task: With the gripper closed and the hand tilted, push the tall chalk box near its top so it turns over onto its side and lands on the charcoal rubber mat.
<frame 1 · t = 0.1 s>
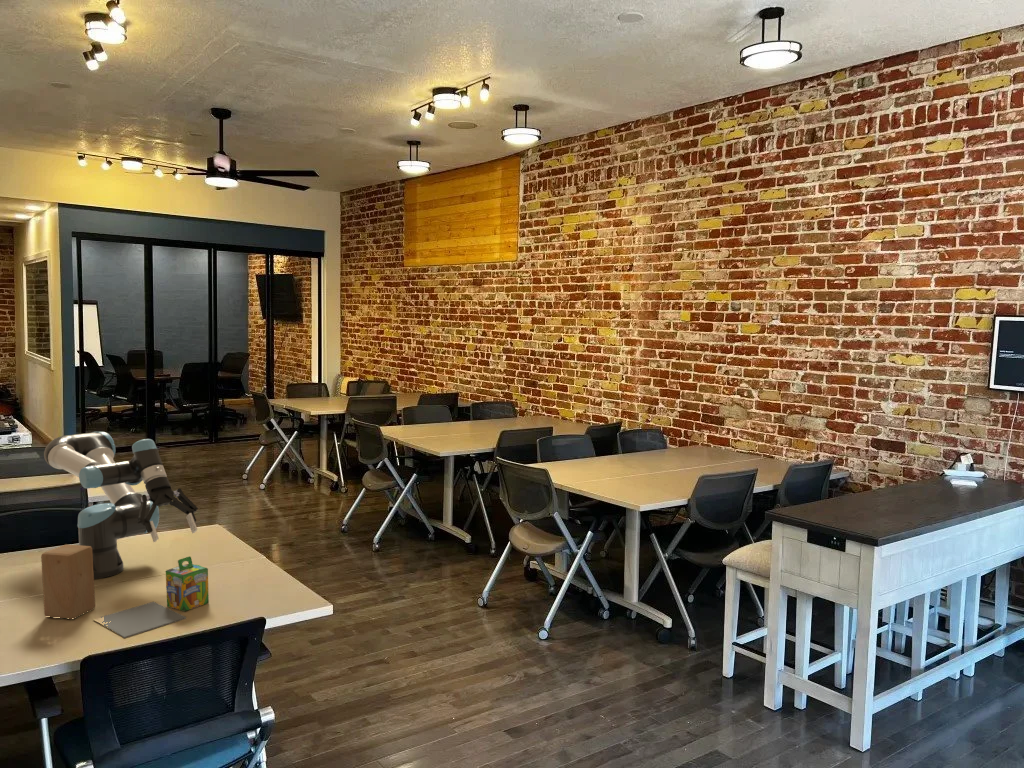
hand: (175, 535, 260), 15 cm above the table, tool tilted 35°, fingers open, 13 cm apart
mat: (139, 619, 227), on the table
chalk box: (188, 605, 239), on the table
wooden block: (70, 614, 232), on the table
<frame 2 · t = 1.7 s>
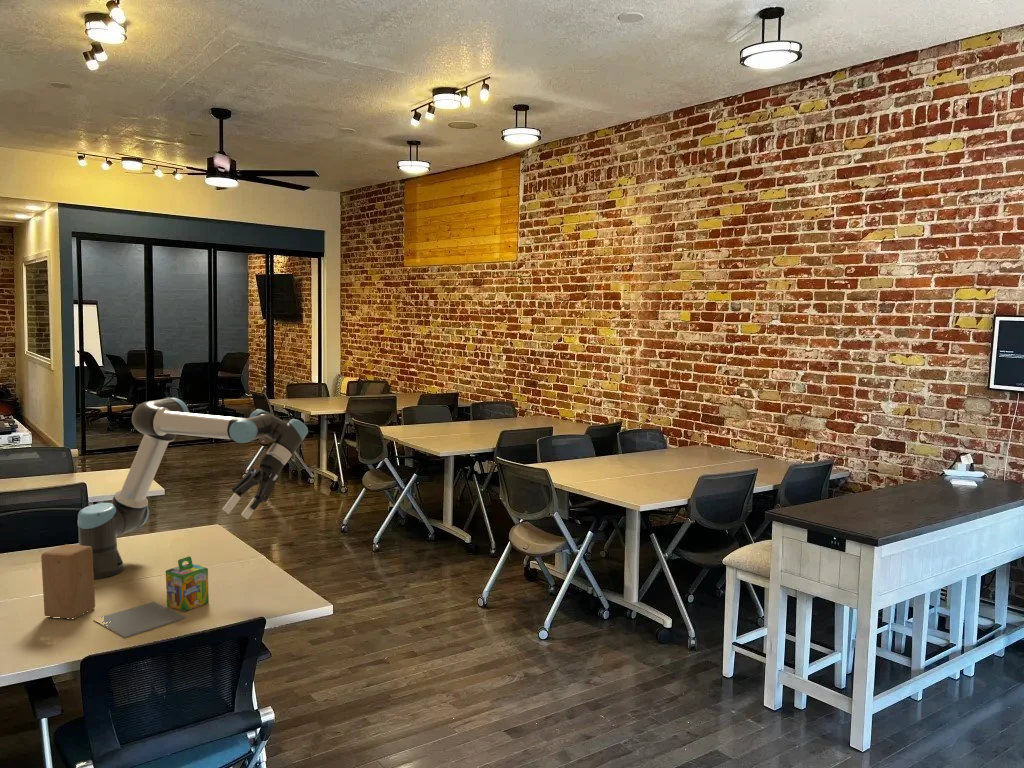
hand: (234, 514, 250), 25 cm above the table, tool tilted 45°, fingers open, 10 cm apart
nothing on the table moved.
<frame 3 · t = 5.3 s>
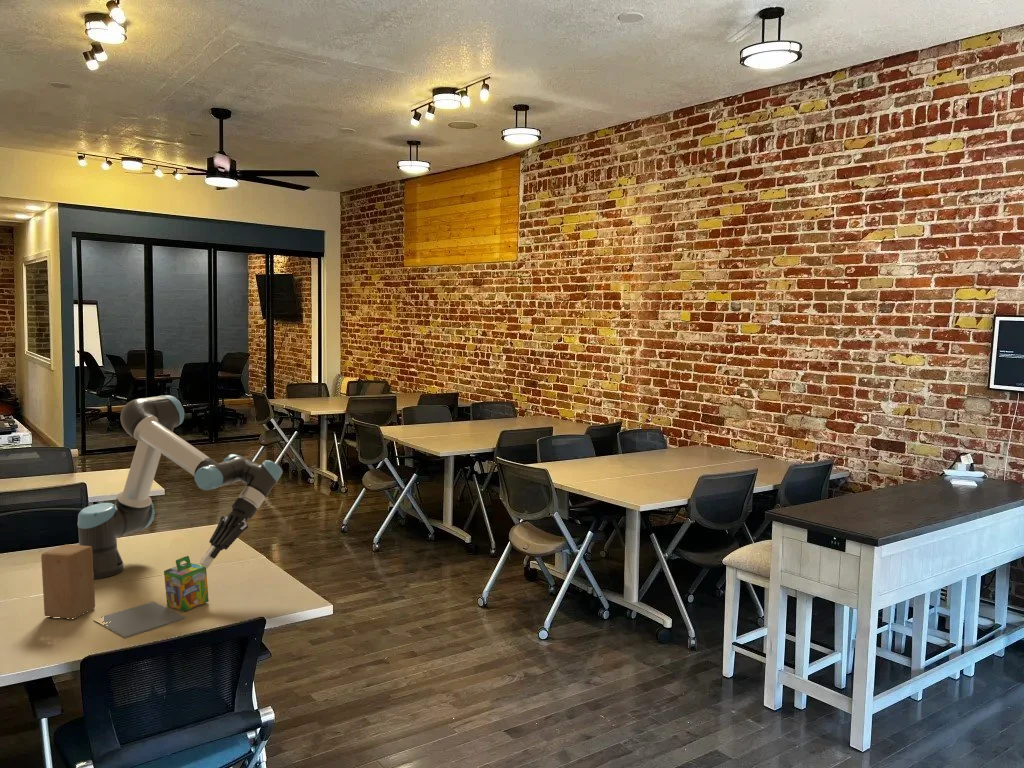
hand: (203, 565, 241), 11 cm above the table, tool tilted 45°, fingers closed
chalk box: (188, 604, 239), on the table, touching gripper
everything else where it was.
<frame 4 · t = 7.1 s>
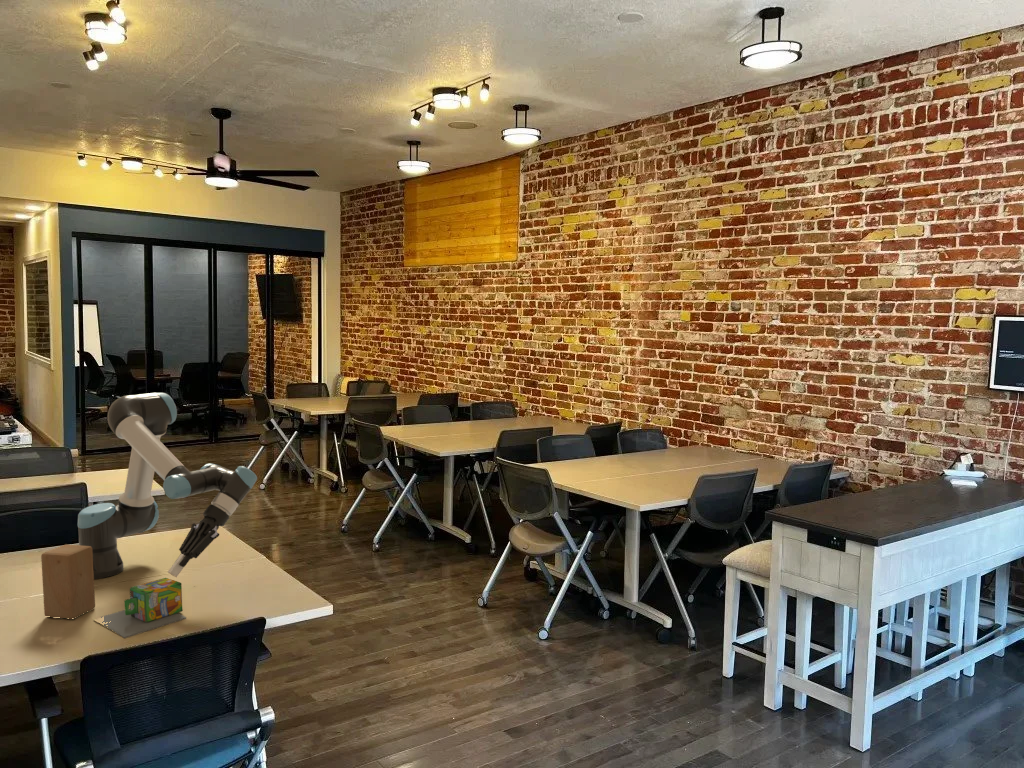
hand: (172, 574, 234), 11 cm above the table, tool tilted 45°, fingers closed
chalk box: (175, 593, 235), point 5 cm above the table, touching mat
everything else where it was.
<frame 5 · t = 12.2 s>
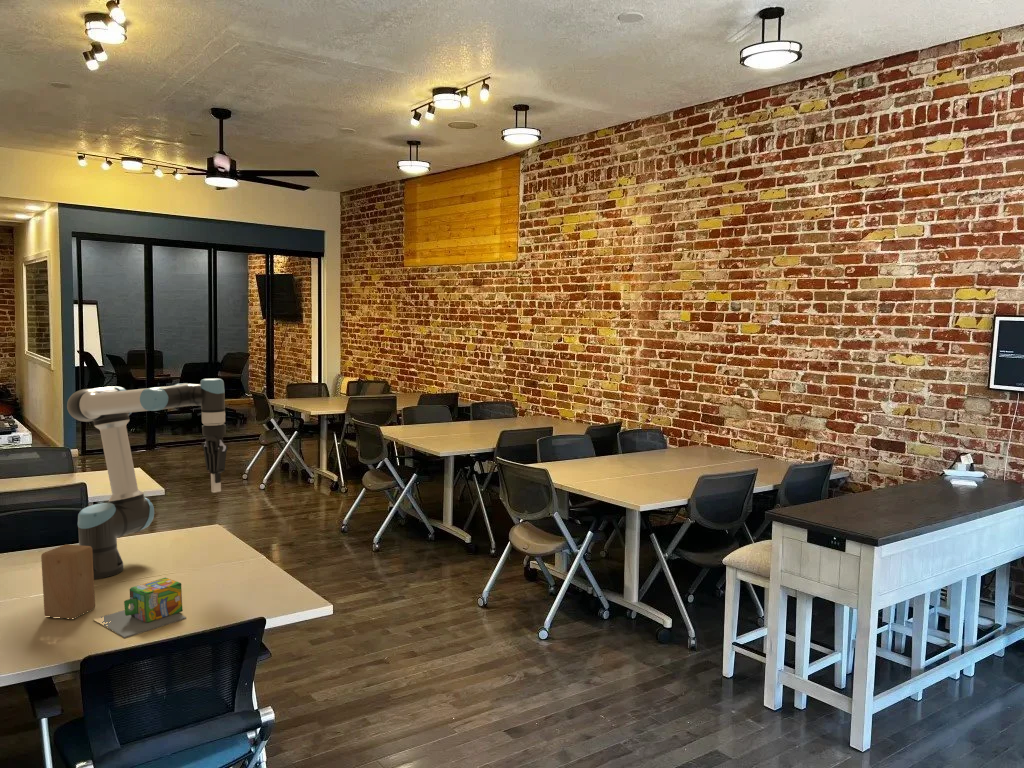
hand: (216, 491, 264), 29 cm above the table, tool pointing down, fingers closed
nothing on the table moved.
at the end: chalk box tilted 91°; chalk box touching mat; chalk box inside the target area (1.8 cm from its centre), point 5.0 cm above the table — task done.
